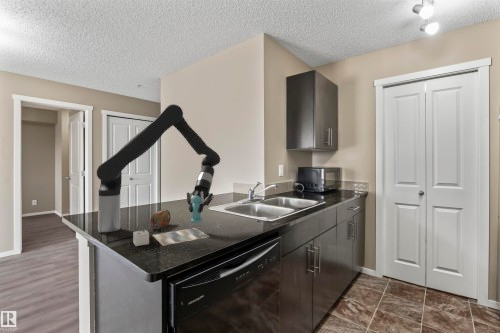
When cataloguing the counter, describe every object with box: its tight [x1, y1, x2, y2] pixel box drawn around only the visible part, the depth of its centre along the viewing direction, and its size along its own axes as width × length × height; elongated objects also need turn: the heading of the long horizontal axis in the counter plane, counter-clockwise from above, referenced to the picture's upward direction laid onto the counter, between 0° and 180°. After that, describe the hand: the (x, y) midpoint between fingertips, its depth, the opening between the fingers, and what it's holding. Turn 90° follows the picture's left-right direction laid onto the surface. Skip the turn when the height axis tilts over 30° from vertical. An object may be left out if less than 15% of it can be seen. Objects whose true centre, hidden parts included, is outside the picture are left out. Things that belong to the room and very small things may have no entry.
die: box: [132, 229, 150, 247], centre depth 100 cm, size 5×5×5 cm
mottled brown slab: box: [150, 209, 171, 230], centre depth 125 cm, size 15×3×8 cm, turn 168°
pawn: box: [190, 196, 203, 224], centre depth 114 cm, size 5×5×12 cm
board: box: [151, 227, 211, 247], centre depth 110 cm, size 21×17×1 cm
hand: (195, 211), depth 112 cm, fingers closed on pawn, 3 cm apart
